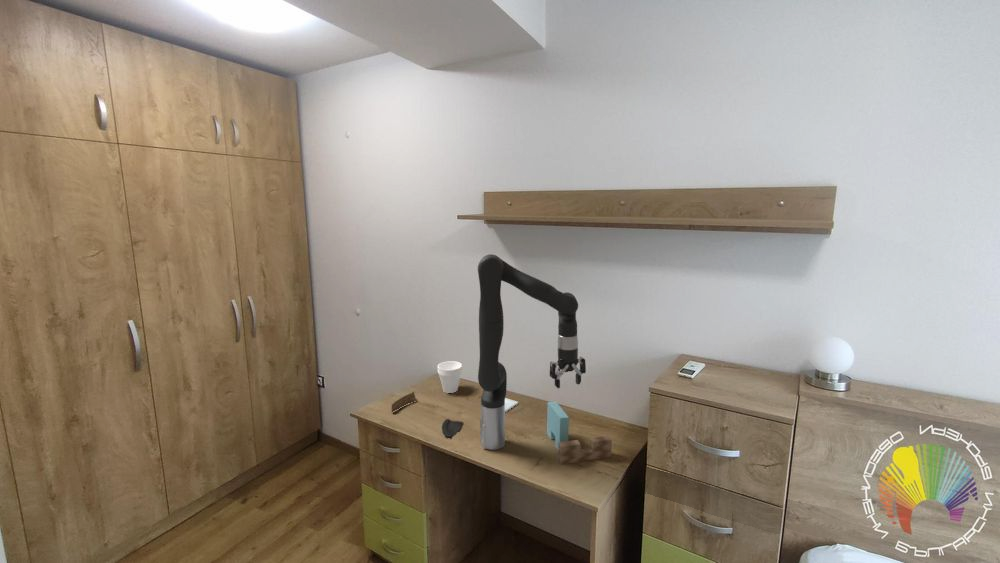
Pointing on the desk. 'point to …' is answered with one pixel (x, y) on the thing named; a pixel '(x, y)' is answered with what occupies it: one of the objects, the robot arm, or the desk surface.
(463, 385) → the desk surface
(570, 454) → the walnut slotted board
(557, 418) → the teal notched plate
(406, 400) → the brown curved strip
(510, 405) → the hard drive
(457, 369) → the cup
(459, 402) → the desk surface
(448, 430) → the curved wedge
